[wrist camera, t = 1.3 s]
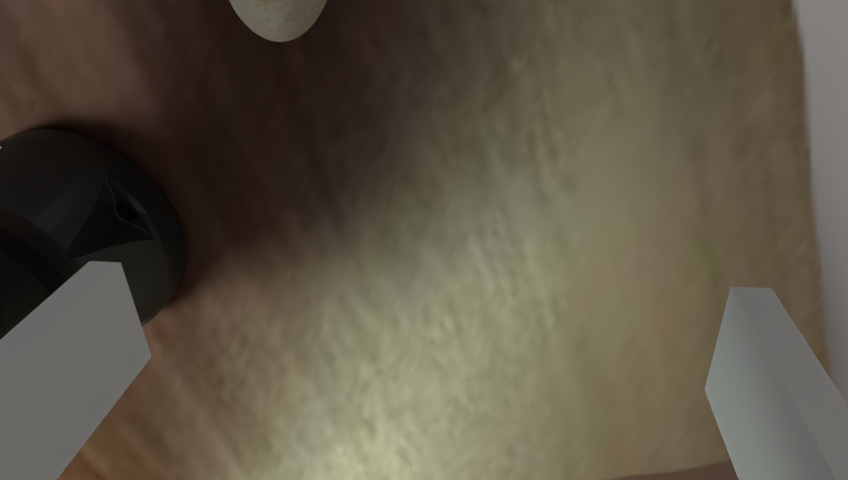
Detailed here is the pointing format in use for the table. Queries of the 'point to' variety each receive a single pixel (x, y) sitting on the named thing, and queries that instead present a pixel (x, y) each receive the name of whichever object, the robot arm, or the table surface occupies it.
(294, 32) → the stone
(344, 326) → the table surface
